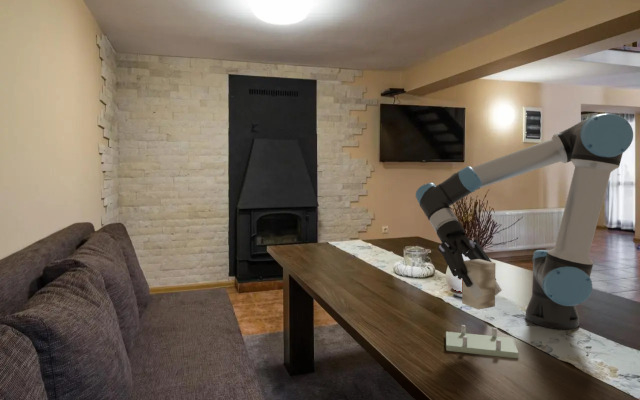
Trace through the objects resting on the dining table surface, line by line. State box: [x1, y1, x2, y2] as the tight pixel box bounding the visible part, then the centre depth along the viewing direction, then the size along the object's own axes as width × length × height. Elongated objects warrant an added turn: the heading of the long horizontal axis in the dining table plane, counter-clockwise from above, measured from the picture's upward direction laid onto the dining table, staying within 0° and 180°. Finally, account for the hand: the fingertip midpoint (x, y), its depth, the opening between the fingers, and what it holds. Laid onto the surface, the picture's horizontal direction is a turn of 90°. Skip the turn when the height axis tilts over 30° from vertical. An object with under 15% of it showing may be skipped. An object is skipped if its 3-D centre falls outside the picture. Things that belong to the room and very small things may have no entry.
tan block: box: [461, 259, 497, 311], centre depth 115 cm, size 6×6×12 cm
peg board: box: [445, 324, 520, 359], centre depth 116 cm, size 18×10×4 cm, turn 74°
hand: (488, 294), depth 112 cm, fingers closed on tan block, 6 cm apart
